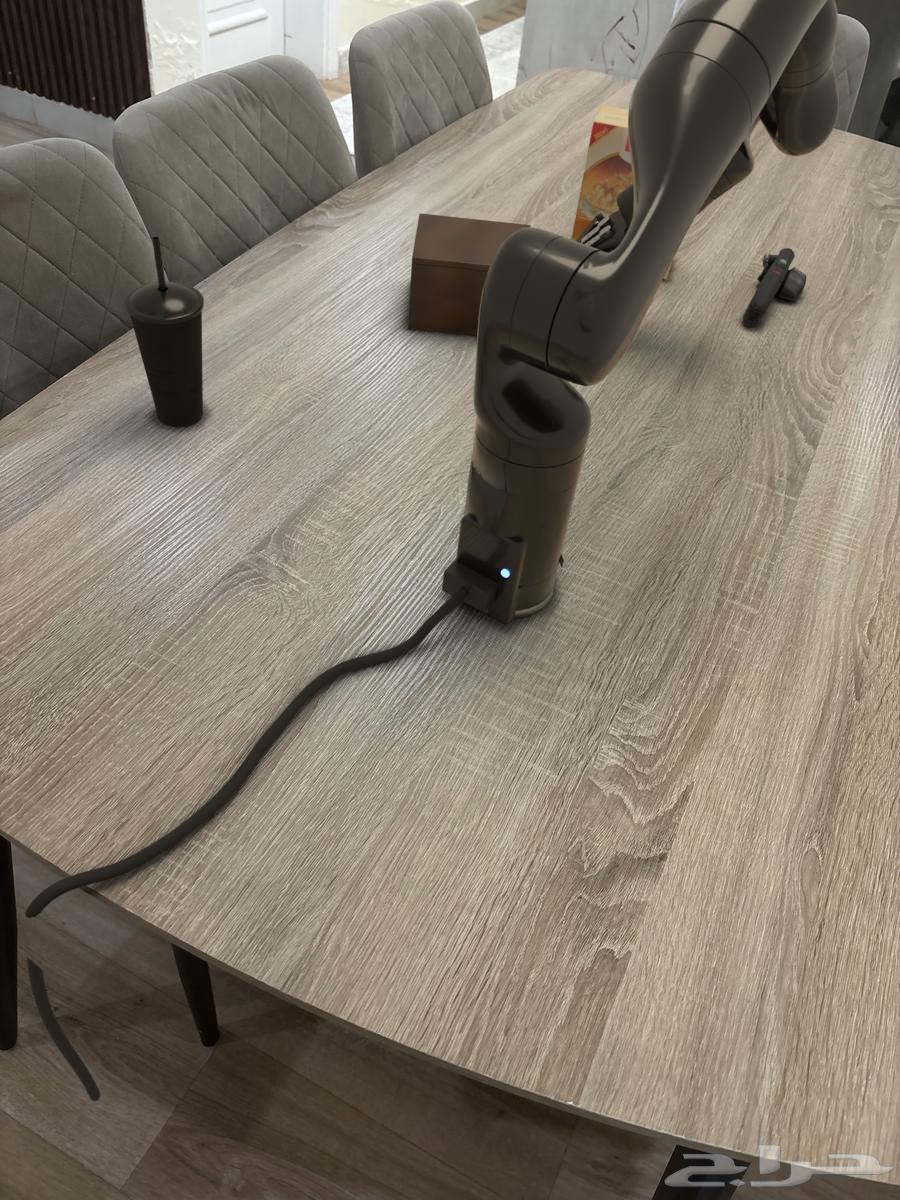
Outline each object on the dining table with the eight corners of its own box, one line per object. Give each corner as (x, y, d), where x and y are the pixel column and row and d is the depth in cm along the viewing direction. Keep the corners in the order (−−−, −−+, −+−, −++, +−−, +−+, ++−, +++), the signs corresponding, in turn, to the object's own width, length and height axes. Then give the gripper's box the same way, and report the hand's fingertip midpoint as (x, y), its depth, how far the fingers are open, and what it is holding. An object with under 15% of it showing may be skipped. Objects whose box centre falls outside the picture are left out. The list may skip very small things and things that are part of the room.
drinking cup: (146, 438, 100) (114, 258, 86) (142, 397, 105) (112, 221, 91) (219, 431, 102) (200, 255, 87) (212, 392, 107) (193, 219, 92)
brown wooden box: (520, 293, 129) (530, 224, 123) (521, 340, 121) (532, 269, 114) (414, 282, 129) (419, 212, 122) (407, 328, 120) (412, 257, 113)
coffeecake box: (566, 261, 137) (592, 120, 123) (573, 241, 142) (599, 103, 128) (667, 281, 136) (705, 140, 122) (671, 260, 141) (708, 122, 127)
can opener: (761, 273, 140) (774, 237, 136) (807, 288, 138) (821, 251, 134) (721, 320, 129) (733, 281, 125) (770, 337, 127) (784, 298, 123)
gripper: (643, 153, 116) (530, 240, 124) (653, 197, 106) (531, 288, 115) (675, 200, 120) (564, 281, 128) (688, 247, 110) (567, 331, 119)
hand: (548, 284), depth 122 cm, fingers closed
